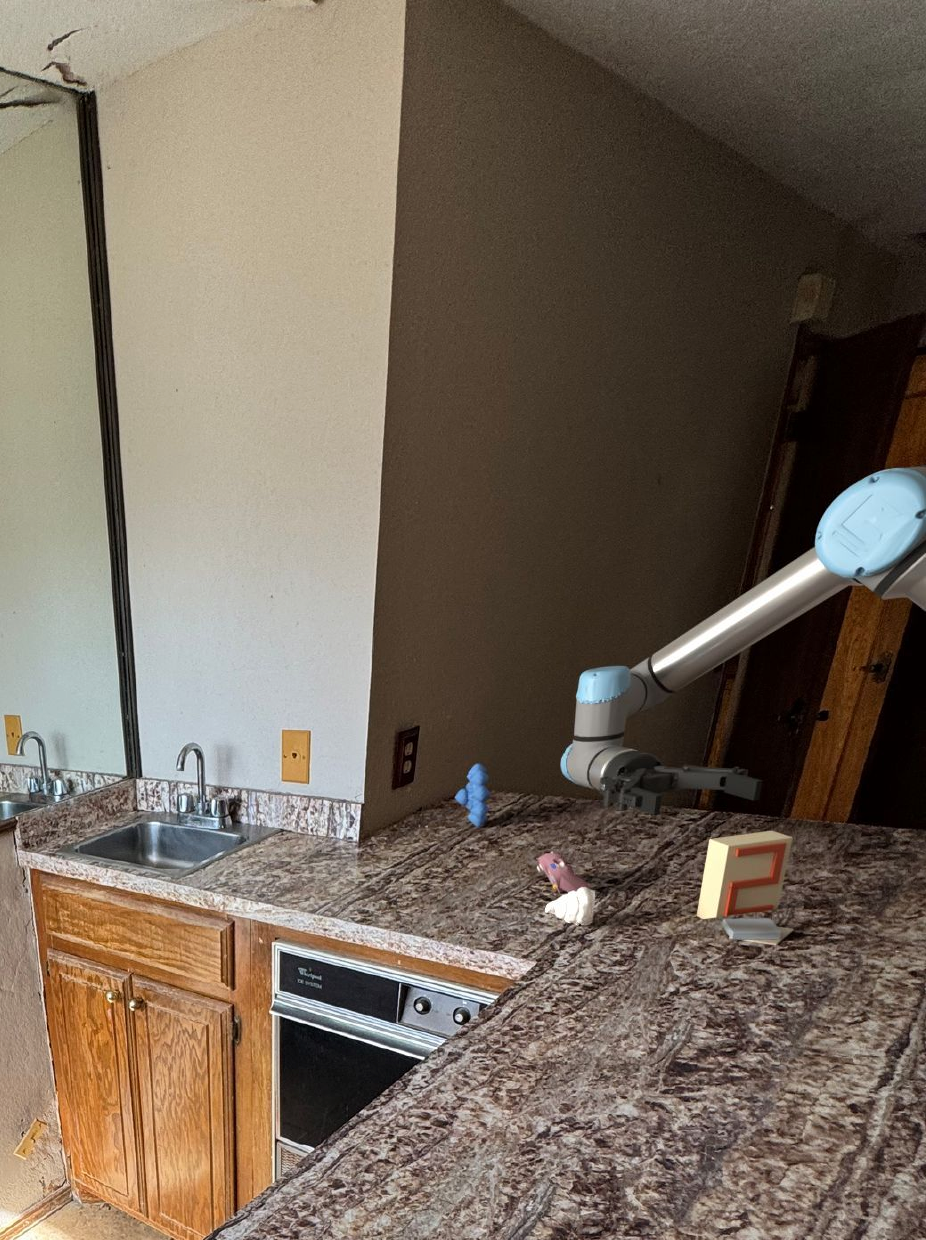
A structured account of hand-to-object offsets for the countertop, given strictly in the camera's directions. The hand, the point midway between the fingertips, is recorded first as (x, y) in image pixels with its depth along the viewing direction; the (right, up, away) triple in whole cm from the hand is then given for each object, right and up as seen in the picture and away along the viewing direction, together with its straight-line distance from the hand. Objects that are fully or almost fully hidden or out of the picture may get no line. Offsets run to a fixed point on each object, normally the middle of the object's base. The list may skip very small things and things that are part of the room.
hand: (708, 798), depth 125 cm
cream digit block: (+1, -17, -4) cm, 18 cm away
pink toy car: (-12, -10, +16) cm, 23 cm away
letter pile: (-3, -23, -13) cm, 26 cm away
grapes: (-8, +10, +56) cm, 57 cm away
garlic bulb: (-19, -18, +3) cm, 26 cm away
